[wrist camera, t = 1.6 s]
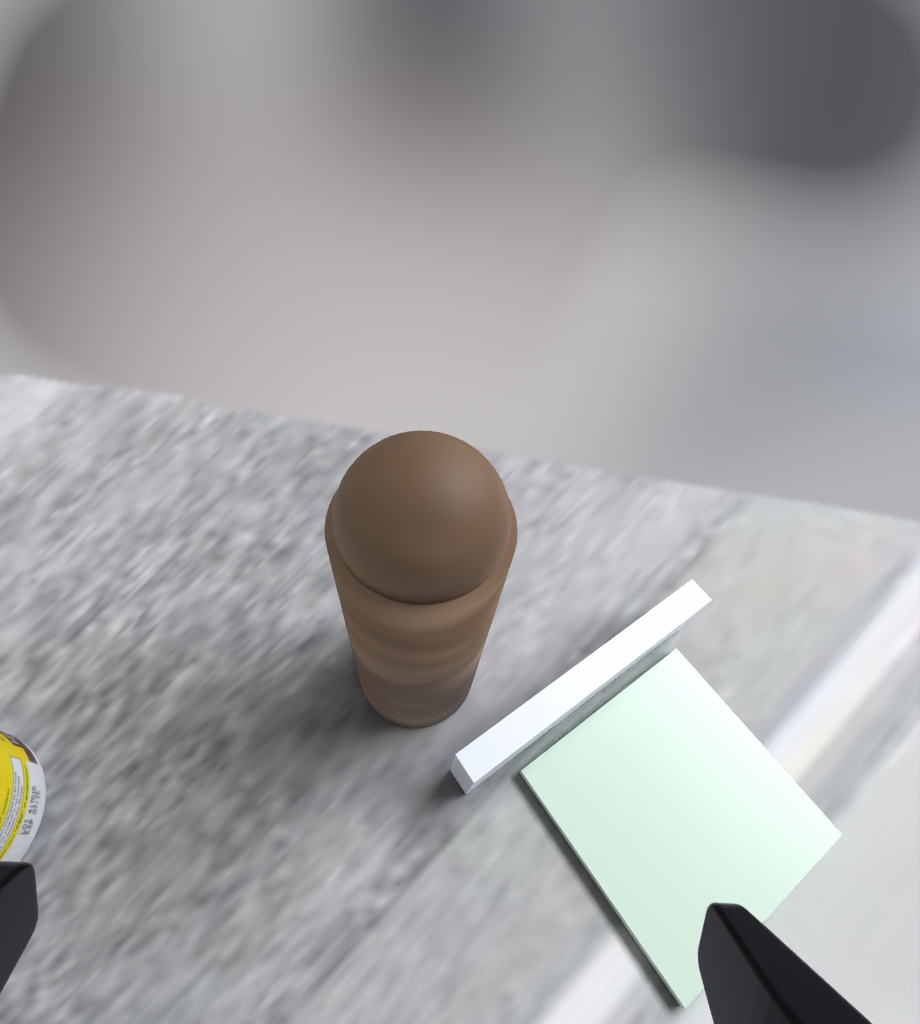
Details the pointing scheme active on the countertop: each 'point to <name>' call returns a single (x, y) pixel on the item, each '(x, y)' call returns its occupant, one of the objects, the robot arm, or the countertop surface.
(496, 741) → the rail
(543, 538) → the countertop surface
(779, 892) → the coaster
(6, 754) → the supplement bottle
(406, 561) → the pepper mill
